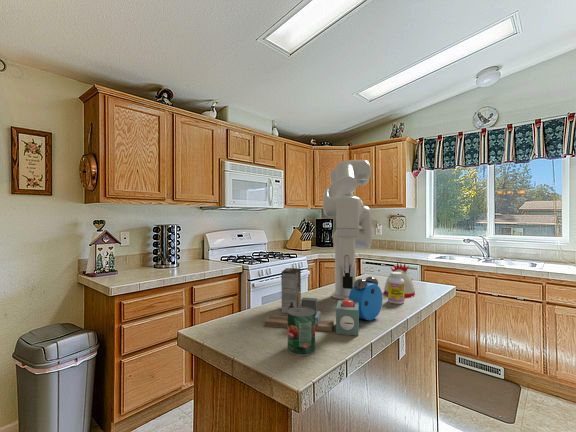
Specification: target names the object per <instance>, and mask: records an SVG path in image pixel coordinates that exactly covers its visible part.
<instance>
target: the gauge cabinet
mask: <svg viewBox="0 0 576 432" xmlns="http://www.w3.org/2000/svg"><path fill="white" fill-rule="evenodd" d="M359 319H360V318H359V302H357V301H353V307H342V300H341V299H337V304H336V307H335V334H336V335H347V336H359V326H360V322H359V321H360V320H359Z"/></svg>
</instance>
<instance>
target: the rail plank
mask: <svg viewBox="0 0 576 432" xmlns="http://www.w3.org/2000/svg"><path fill="white" fill-rule="evenodd" d="M287 317H288V315H276V314H275V315H274V314H270V315H269V316H268V317H267V318H266V319H265V320H264V326H265V327H276V328H286V329H288V318H287ZM334 324H335V321H334V319H326V318H324V319H323V318H321V319H320V321H319V324H318V325H315V331H322V332H330V333H331V332H332V331H333V328H334Z"/></svg>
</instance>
